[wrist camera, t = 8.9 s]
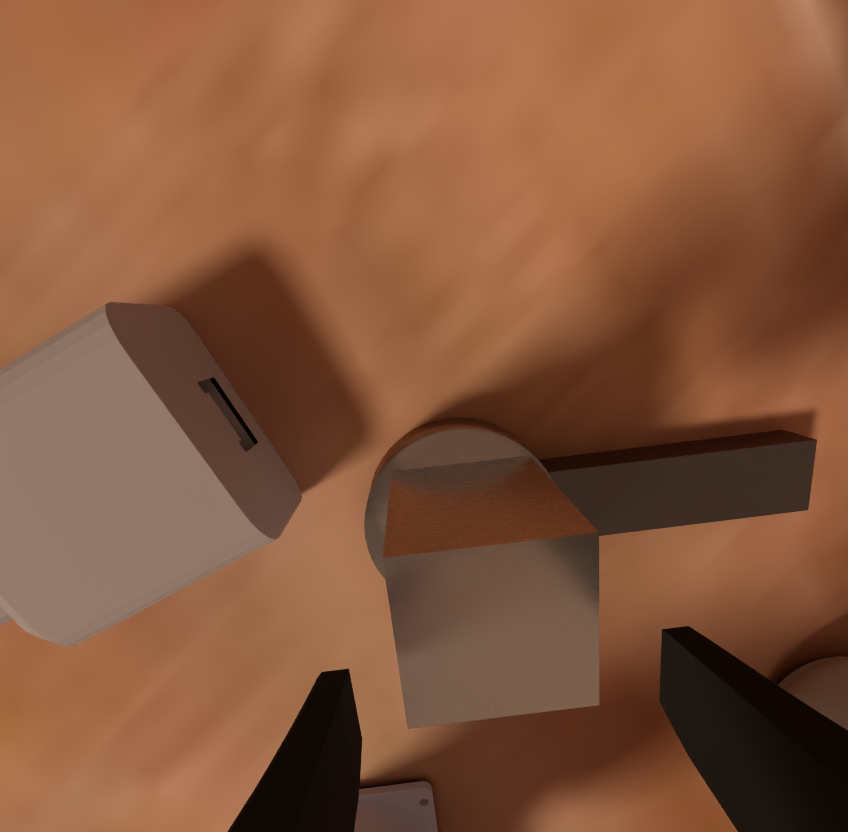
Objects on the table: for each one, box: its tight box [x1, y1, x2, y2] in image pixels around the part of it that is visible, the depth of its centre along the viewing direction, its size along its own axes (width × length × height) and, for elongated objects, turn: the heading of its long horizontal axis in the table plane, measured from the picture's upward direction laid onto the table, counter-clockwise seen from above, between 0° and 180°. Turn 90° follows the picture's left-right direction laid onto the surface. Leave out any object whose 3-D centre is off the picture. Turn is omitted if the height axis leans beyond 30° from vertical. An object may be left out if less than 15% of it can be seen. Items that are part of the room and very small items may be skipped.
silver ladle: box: [364, 418, 817, 579], centre depth 16 cm, size 8×19×5 cm, turn 96°
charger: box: [0, 302, 302, 646], centre depth 15 cm, size 5×9×15 cm
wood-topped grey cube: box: [383, 455, 599, 729], centre depth 13 cm, size 5×5×6 cm
